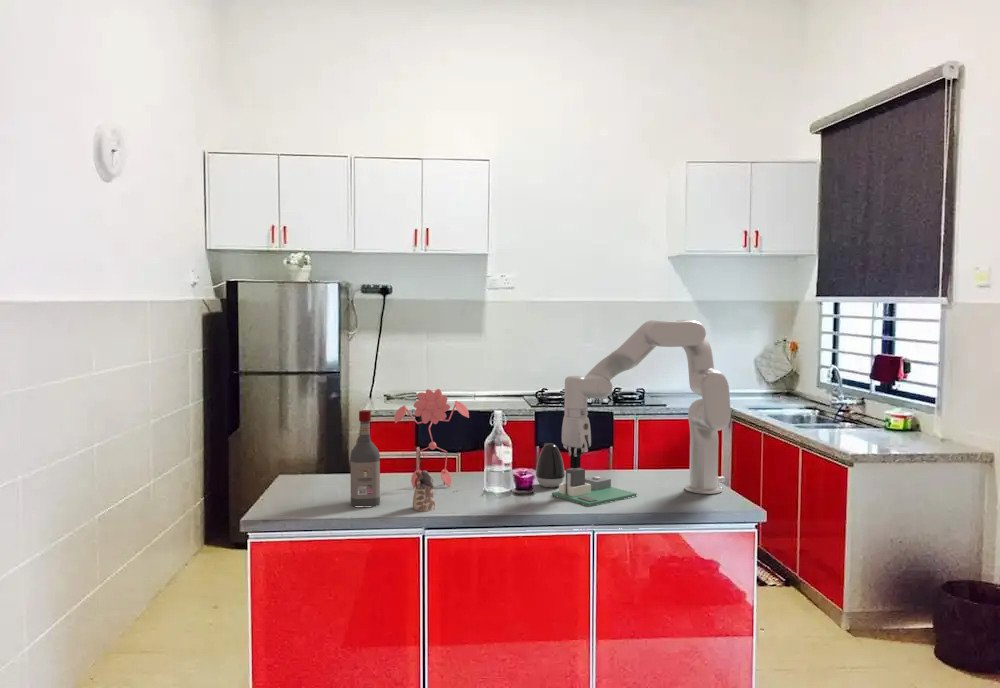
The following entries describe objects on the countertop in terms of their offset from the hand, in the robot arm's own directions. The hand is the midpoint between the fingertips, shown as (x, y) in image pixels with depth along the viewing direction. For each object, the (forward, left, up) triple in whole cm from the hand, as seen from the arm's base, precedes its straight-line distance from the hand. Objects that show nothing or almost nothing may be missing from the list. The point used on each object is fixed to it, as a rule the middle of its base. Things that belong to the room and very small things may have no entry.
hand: (575, 467), depth 269 cm
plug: (0, 0, -9) cm, 9 cm away
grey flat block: (-12, -2, -9) cm, 15 cm away
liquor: (+61, -33, -10) cm, 70 cm away
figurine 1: (+33, -37, -10) cm, 51 cm away
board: (-5, +4, -10) cm, 12 cm away
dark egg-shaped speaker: (-3, -16, -10) cm, 19 cm away
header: (0, 0, -10) cm, 10 cm away
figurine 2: (+49, -17, -10) cm, 53 cm away
